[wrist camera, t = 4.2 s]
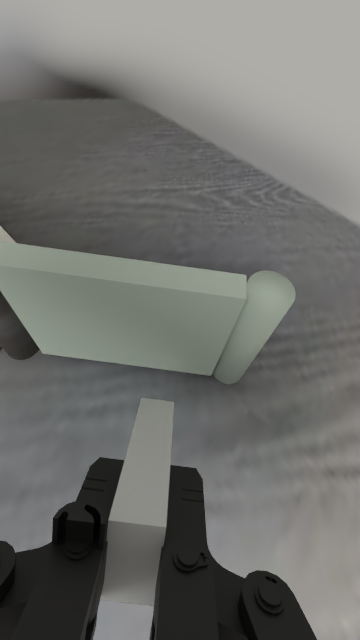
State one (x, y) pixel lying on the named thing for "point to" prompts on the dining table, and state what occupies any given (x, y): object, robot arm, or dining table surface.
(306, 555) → the dining table surface
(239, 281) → the panel
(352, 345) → the dining table surface
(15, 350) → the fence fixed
